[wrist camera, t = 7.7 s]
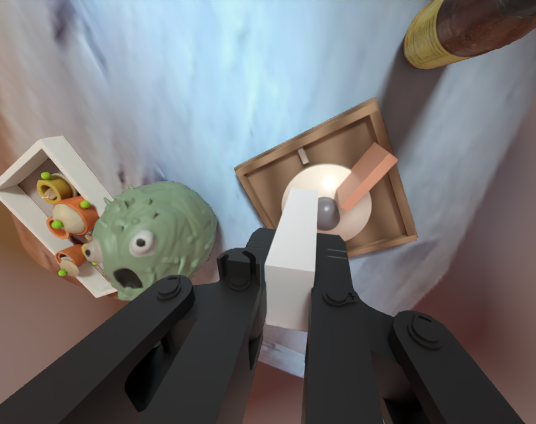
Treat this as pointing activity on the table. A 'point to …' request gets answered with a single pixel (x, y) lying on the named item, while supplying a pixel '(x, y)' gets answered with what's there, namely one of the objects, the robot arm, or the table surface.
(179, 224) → the green monster figurine
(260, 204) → the brown wooden tray
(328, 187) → the dial
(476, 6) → the sauce bottle
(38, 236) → the tea tray rim
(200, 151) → the table surface
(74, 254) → the toy tea set
